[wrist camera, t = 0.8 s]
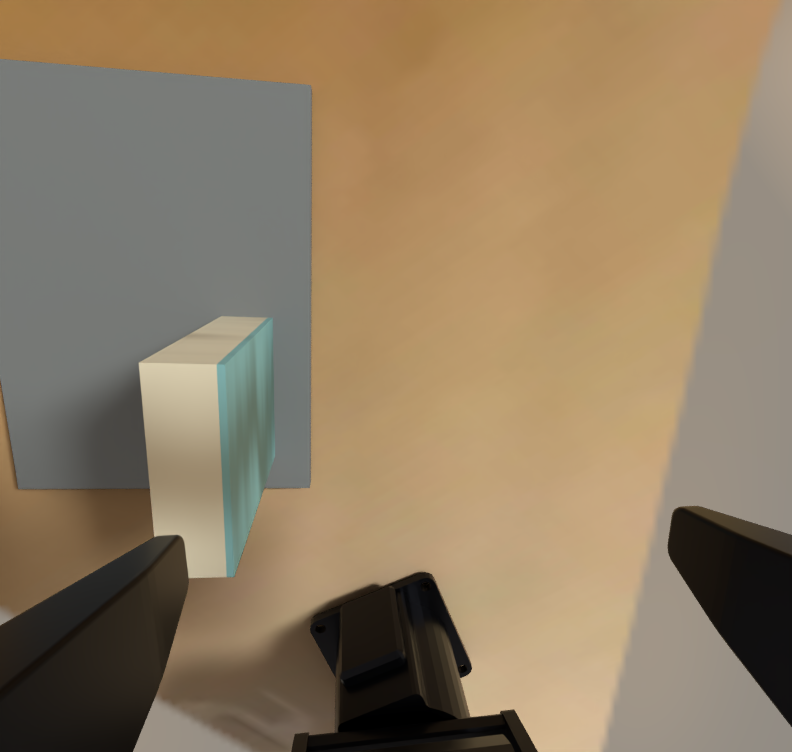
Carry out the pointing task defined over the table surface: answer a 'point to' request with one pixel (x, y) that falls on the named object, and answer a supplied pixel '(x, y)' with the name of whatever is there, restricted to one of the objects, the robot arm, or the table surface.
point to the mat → (144, 254)
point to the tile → (210, 438)
